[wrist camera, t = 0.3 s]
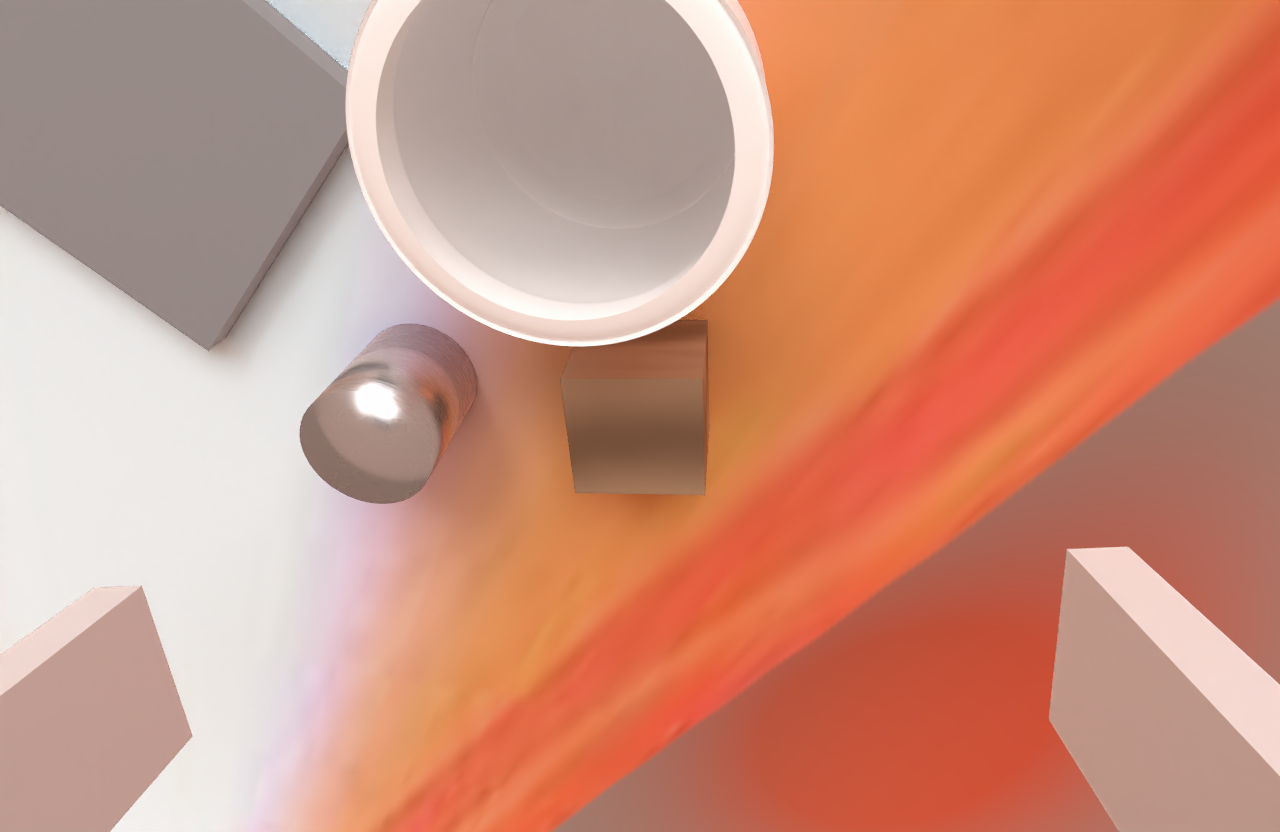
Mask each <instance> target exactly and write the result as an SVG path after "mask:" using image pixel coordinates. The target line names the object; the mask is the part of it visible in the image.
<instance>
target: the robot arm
mask: <svg viewBox="0 0 1280 832" xmlns="http://www.w3.org/2000/svg"><path fill="white" fill-rule="evenodd" d="M1049 720H1050V722H1051V724H1052V725H1053V727H1054V728H1055V730H1056V732H1057V733H1058V735H1059V736H1060V738H1061V739H1062V741H1063V743H1064V744H1065V746H1066V748H1067V749H1068V751H1069V752H1070V754H1071V756H1072V757H1073V759H1074V760H1075V762H1076V764H1077V765H1078V767H1079V768H1080V770H1081V772H1082V773H1083V775H1084V777H1085V778H1086V780H1087V781H1088V783H1089V785H1090V786H1091V788H1092V789H1093V791H1094V793H1095V794H1096V796H1097V797H1098V799H1099V800H1100V802H1101V804H1102V805H1103V807H1104V808H1105V810H1106V812H1107V813H1108V815H1109V817H1110V818H1111V820H1112V821H1113V823H1114V825H1115V826H1116V828H1117V829H1118V831H1119V832H1280V685H1279V684H1278V683H1277V682H1276V681H1275V680H1274V679H1273V678H1272V677H1271V676H1269V675H1268V674H1267V673H1266V672H1265V671H1264V670H1263V669H1262V668H1261V667H1259V666H1258V665H1257V664H1256V663H1255V662H1254V661H1253V660H1252V659H1251V658H1249V657H1248V656H1247V655H1246V654H1245V653H1244V652H1243V651H1242V650H1241V649H1240V648H1239V647H1238V646H1236V645H1235V644H1234V643H1233V642H1232V641H1231V640H1230V639H1229V638H1228V637H1227V636H1225V635H1224V634H1223V633H1222V632H1221V631H1220V630H1219V629H1218V628H1217V627H1216V626H1215V625H1213V624H1212V623H1211V622H1210V621H1209V620H1208V619H1207V618H1206V617H1205V616H1204V615H1202V614H1201V613H1200V612H1199V611H1198V610H1197V609H1196V608H1195V607H1194V606H1192V605H1191V604H1190V603H1189V602H1188V601H1187V600H1186V599H1185V598H1184V597H1182V596H1181V595H1180V594H1179V593H1178V592H1177V591H1176V590H1175V589H1174V588H1173V587H1172V586H1171V585H1169V584H1168V583H1167V582H1166V581H1165V580H1164V579H1163V578H1162V577H1160V575H1158V574H1157V573H1156V572H1155V571H1154V570H1153V569H1152V568H1151V567H1150V566H1148V565H1147V564H1146V563H1145V562H1144V561H1143V560H1142V559H1141V558H1140V557H1139V556H1138V555H1136V554H1135V553H1134V552H1133V551H1132V550H1131V549H1130V548H1129V547H1110V548H1086V549H1085V548H1084V549H1067V554H1066V563H1065V573H1064V581H1063V591H1062V601H1061V610H1060V619H1059V628H1058V638H1057V647H1056V656H1055V666H1054V675H1053V685H1052V695H1051V703H1050V713H1049ZM191 737H192V733H191V730H190V728H189V725H188V722H187V719H186V716H185V713H184V710H183V707H182V704H181V701H180V698H179V695H178V692H177V689H176V686H175V683H174V680H173V677H172V674H171V671H170V668H169V665H168V662H167V659H166V657H165V654H164V651H163V648H162V645H161V642H160V639H159V636H158V633H157V630H156V627H155V624H154V621H153V618H152V615H151V612H150V609H149V606H148V603H147V600H146V597H145V594H144V591H143V588H142V586H126V587H100V588H93V589H91V590H90V591H89V592H87V593H86V594H84V595H83V596H82V597H80V598H79V599H78V600H76V601H75V602H73V603H72V604H71V605H69V606H68V607H66V608H65V609H64V610H62V611H61V612H59V613H58V614H57V615H55V616H54V617H53V618H51V619H50V620H48V621H47V622H46V623H44V624H43V625H41V626H40V627H39V628H37V629H36V630H34V631H33V632H32V633H30V634H29V635H28V636H26V637H25V638H23V639H22V640H21V641H19V642H18V643H16V644H15V645H14V646H12V647H11V648H9V649H8V650H7V651H5V652H4V653H3V654H1V655H0V832H110V831H111V830H112V828H113V827H114V826H115V825H116V824H117V823H118V822H119V820H120V819H121V818H122V817H123V816H124V815H125V813H126V812H127V811H128V810H129V809H130V808H131V807H132V805H133V804H134V803H135V802H136V801H137V800H138V798H139V797H140V796H141V795H142V794H143V793H144V791H145V790H146V789H147V788H148V787H149V786H150V785H151V783H152V782H153V781H154V780H155V779H156V778H157V776H158V775H159V774H160V773H161V772H162V771H163V770H164V768H165V767H166V766H167V765H168V764H169V763H170V761H171V760H172V759H173V758H174V757H175V756H176V755H177V753H178V752H179V751H180V750H181V749H182V748H183V746H184V745H185V744H186V743H187V742H188V741H189V739H190V738H191Z"/></svg>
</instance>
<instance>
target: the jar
mask: <svg viewBox="0 0 1280 832" xmlns="http://www.w3.org/2000/svg"><path fill="white" fill-rule="evenodd" d="M345 106H346V127H347V135H348V142H349V148H350V153H351V158H352V162H353V166H354V169H355V173H356V176H357V179H358V182H359V185H360V188H361V190H362V193H363V195H364V198H365V200H366V202H367V204H368V207H369V209H370V211H371V213H372V215H373V217H374V219H375V220H376V222H377V224H378V226H379V227H380V229H381V231H382V232H383V234H384V236H385V237H386V239H387V240H388V242H389V243H390V244H391V246H392V247H393V249H394V250H395V251H396V253H397V254H398V255H399V256H400V258H401V259H402V260H403V261H404V263H405V264H406V265H407V266H408V267H409V268H410V269H411V270H412V271H413V273H414V274H415V275H416V276H417V277H418V278H419V279H420V280H421V281H422V282H424V283H425V284H426V285H427V286H428V287H429V288H430V289H431V290H432V291H434V292H435V293H436V294H437V295H438V296H440V297H441V298H442V299H444V300H445V301H446V302H448V303H449V304H450V305H452V306H453V307H455V308H456V309H458V310H459V311H461V312H463V313H464V314H466V315H468V316H469V317H471V318H473V319H475V320H477V321H479V322H481V323H483V324H485V325H487V326H489V327H491V328H494V329H496V330H498V331H501V332H504V333H506V334H509V335H512V336H515V337H519V338H522V339H526V340H530V341H534V342H539V343H545V344H551V345H560V346H597V345H606V344H613V343H618V342H623V341H627V340H631V339H635V338H638V337H641V336H644V335H647V334H649V333H652V332H654V331H657V330H659V329H661V328H663V327H666V326H668V325H669V324H671V323H673V322H675V321H677V320H678V319H680V318H682V317H683V316H685V315H686V314H688V313H689V312H691V311H692V310H694V309H695V308H696V307H698V306H699V305H700V304H701V303H703V302H704V301H705V300H706V299H707V298H708V297H710V296H711V295H712V294H713V293H714V292H715V291H716V290H717V289H718V288H719V287H720V286H721V285H722V283H723V282H724V281H725V280H726V279H727V278H728V276H729V275H730V274H731V273H732V271H733V270H734V269H735V267H736V266H737V265H738V263H739V262H740V260H741V259H742V257H743V255H744V254H745V252H746V250H747V249H748V247H749V245H750V243H751V241H752V239H753V237H754V235H755V233H756V230H757V228H758V226H759V223H760V220H761V218H762V215H763V212H764V209H765V205H766V202H767V198H768V194H769V189H770V184H771V178H772V170H773V158H774V132H773V120H772V112H771V106H770V100H769V95H768V91H767V87H766V81H765V74H764V68H763V63H762V59H761V55H760V51H759V48H758V45H757V42H756V39H755V36H754V33H753V31H752V28H751V26H750V24H749V21H748V19H747V17H746V15H745V13H744V11H743V9H742V8H741V6H740V4H739V3H738V1H737V0H373V1H372V2H371V4H370V6H369V8H368V10H367V12H366V14H365V16H364V18H363V21H362V23H361V26H360V28H359V31H358V34H357V37H356V40H355V43H354V46H353V50H352V54H351V58H350V63H349V69H348V75H347V84H346V105H345Z"/></svg>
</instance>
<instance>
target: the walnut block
mask: <svg viewBox="0 0 1280 832" xmlns="http://www.w3.org/2000/svg"><path fill="white" fill-rule="evenodd" d="M560 382H561V390H562V397H563V405H564V412H565V420H566V427H567V435H568V442H569V450H570V457H571V465H572V472H573V480H574V487H575V493H608V494H669V495H705V486H706V470H707V454H708V438H709V388H708V336H707V320H677V321H675V322H673V323H671V324H669V325H668V326H666V327H663V328H661V329H659V330H657V331H654V332H652V333H649V334H647V335H644V336H641V337H638V338H635V339H631V340H627V341H623V342H618V343H613V344H606V345H597V346H574V347H573V349H572V352H571V354H570V357H569V359H568V361H567V364H566V366H565V369H564V371H563V373H562V376H561V378H560Z"/></svg>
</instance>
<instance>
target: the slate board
mask: <svg viewBox="0 0 1280 832" xmlns="http://www.w3.org/2000/svg"><path fill="white" fill-rule="evenodd" d="M347 75H348V71H347V70H346V69H344V68H343V67H342V66H341V65H340V64H339V63H337V62H336V61H335V60H334V59H333V58H332V57H331V56H329V55H328V54H327V53H326V52H325V51H324V50H322V49H321V48H320V47H319V46H318V45H317V44H315V43H314V42H313V41H312V40H311V39H310V38H308V37H307V36H306V35H305V34H304V33H303V32H301V31H300V30H299V29H298V28H297V27H296V26H294V25H293V24H292V23H291V22H290V21H289V20H287V19H286V18H285V17H284V16H283V15H282V14H280V13H279V12H278V11H277V10H276V9H275V8H273V7H272V6H271V5H270V4H269V3H268V2H267V1H265V0H0V205H1V206H2V207H4V208H5V209H6V210H8V211H9V212H11V213H12V214H14V215H15V216H16V217H18V218H19V219H21V220H22V221H24V222H25V223H26V224H28V225H29V226H31V227H32V228H34V229H35V230H36V231H38V232H39V233H41V234H42V235H44V236H45V237H46V238H48V239H49V240H51V241H52V242H54V243H55V244H56V245H58V246H59V247H61V248H62V249H64V250H65V251H66V252H68V253H69V254H71V255H72V256H74V257H75V258H76V259H78V260H79V261H81V262H82V263H84V264H85V265H86V266H88V267H89V268H91V269H92V270H94V271H95V272H96V273H98V274H99V275H101V276H102V277H104V278H105V279H106V280H108V281H109V282H111V283H112V284H114V285H115V286H116V287H118V288H119V289H121V290H122V291H124V292H125V293H126V294H128V295H129V296H131V297H132V298H134V299H135V300H136V301H138V302H139V303H141V304H142V305H144V306H145V307H146V308H148V309H149V310H151V311H152V312H154V313H155V314H156V315H158V316H159V317H161V318H162V319H164V320H165V321H166V322H168V323H169V324H171V325H172V326H174V327H175V328H176V329H178V330H179V331H181V332H182V333H184V334H185V335H186V336H188V337H189V338H191V339H192V340H194V341H195V342H196V343H198V344H199V345H201V346H202V347H204V348H205V349H206V350H208V351H209V350H210V349H211V348H213V347H214V346H215V345H217V344H218V343H219V342H221V341H222V340H223V339H225V338H226V336H227V334H228V333H229V331H230V330H231V328H232V327H233V325H234V323H235V322H236V320H237V319H238V317H239V315H240V314H241V312H242V311H243V309H244V307H245V306H246V304H247V303H248V301H249V300H250V298H251V296H252V295H253V293H254V292H255V290H256V288H257V287H258V285H259V284H260V282H261V281H262V279H263V277H264V276H265V274H266V273H267V271H268V269H269V268H270V266H271V265H272V263H273V261H274V260H275V258H276V257H277V255H278V254H279V252H280V250H281V249H282V247H283V246H284V244H285V242H286V241H287V239H288V238H289V236H290V234H291V233H292V231H293V230H294V228H295V227H296V225H297V223H298V222H299V220H300V219H301V217H302V215H303V214H304V212H305V211H306V209H307V207H308V206H309V204H310V203H311V201H312V200H313V198H314V196H315V195H316V193H317V192H318V190H319V188H320V187H321V185H322V184H323V182H324V180H325V179H326V177H327V176H328V174H329V173H330V171H331V169H332V168H333V166H334V165H335V163H336V161H337V160H338V158H339V157H340V155H341V153H342V152H343V150H344V149H345V147H346V146H347V144H348V135H347V127H346V106H345V105H346V84H347Z"/></svg>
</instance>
